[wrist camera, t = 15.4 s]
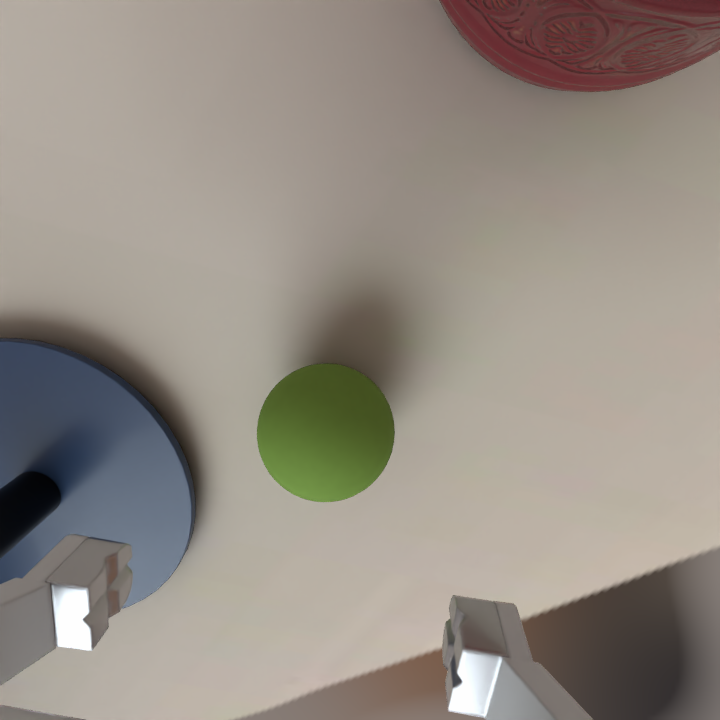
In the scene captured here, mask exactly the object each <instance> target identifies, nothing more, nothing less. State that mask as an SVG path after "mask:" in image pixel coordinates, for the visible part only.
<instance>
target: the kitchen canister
mask: <svg viewBox="0 0 720 720" xmlns="http://www.w3.org/2000/svg"><path fill="white" fill-rule="evenodd" d="M439 1H440V3H441V5H442V7H443V8H444V10H445V12H446V14H447V15H448V17H449V19H450V20H451V22H452V23H453V25H454V26H455V27H456V29H457V30H458V31H459V33H460V34H461V35H462V37H463V38H464V39H465V40H466V41H467V42H468V43H469V44H470V46H471V47H472V48H474V49H475V50H476V51H477V52H478V53H479V54H480V55H481V56H482V57H483V58H485V59H486V60H487V61H489V62H490V63H491V64H492V65H494V66H496V67H497V68H499V69H500V70H502V71H503V72H505V73H507V74H509V75H511V76H513V77H515V78H517V79H519V80H522V81H524V82H527V83H530V84H533V85H536V86H539V87H544V88H548V89H553V90H561V91H578V92H600V91H611V90H619V89H625V88H630V87H634V86H639V85H642V84H645V83H649V82H652V81H655V80H658V79H660V78H663V77H666V76H668V75H671V74H673V73H675V72H677V71H679V70H682V69H684V68H686V67H688V66H691V65H693V64H695V63H697V62H699V61H701V60H703V59H705V58H706V57H708V56H710V55H712V54H714V53H715V52H717V51H719V50H720V0H439Z"/></svg>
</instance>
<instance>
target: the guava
mask: <svg viewBox="0 0 720 720" xmlns="http://www.w3.org/2000/svg"><path fill="white" fill-rule="evenodd" d="M394 434H395V431H394V421H393V416H392V412H391V409H390V406H389V404H388V402H387V400H386V398H385V396H384V395H383V393H382V392H381V390H380V389H379V388H378V387H377V386H376V384H375V383H374V382H373V381H371V380H370V379H369V378H368V377H366V376H365V375H363V374H362V373H360V372H358V371H356V370H354V369H352V368H349V367H346V366H343V365H338V364H328V363H325V364H315V365H309V366H306V367H303V368H301V369H299V370H296V371H294V372H292V373H291V374H289V375H288V376H286V377H285V378H284V379H282V380H281V381H280V382H279V383H278V384H277V385H276V386H275V387H274V388H273V390H272V391H271V392H270V394H269V395H268V397H267V398H266V400H265V402H264V404H263V407H262V409H261V412H260V415H259V419H258V426H257V441H258V447H259V452H260V455H261V458H262V460H263V462H264V465H265V467H266V468H267V470H268V472H269V473H270V475H271V476H272V477H273V478H274V480H275V481H276V482H278V483H279V484H280V485H281V486H282V487H283V488H285V489H286V490H287V491H289V492H291V493H292V494H294V495H296V496H298V497H301V498H304V499H307V500H311V501H317V502H333V501H340V500H343V499H347V498H350V497H352V496H354V495H356V494H358V493H360V492H361V491H363V490H365V489H366V488H367V487H369V486H370V485H371V484H372V483H373V482H374V481H375V480H376V479H377V478H378V477H379V475H380V474H381V473H382V471H383V470H384V468H385V466H386V465H387V462H388V460H389V458H390V455H391V453H392V448H393V443H394Z"/></svg>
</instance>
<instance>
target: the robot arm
mask: <svg viewBox="0 0 720 720" xmlns="http://www.w3.org/2000/svg"><path fill="white" fill-rule="evenodd" d="M131 558H132V546H131V545H129V544H128V543H123V542H117V541H112V540H106V539H101V538H96V537H87V536H82V535H77V534H70V535H67V536H66V537H64V538H63V539H62V540H61V541H60V542H59V543H58V544H57V545H56V546H55V547H54V548H53V549H52V550H51V551H50V552H49V553H48V554H47V555H46V556H45V557H44V558H43V559H42V560H41V561H40V562H38V563H37V564H36V565H35V566H34V567H33V568H32V569H31V570H30V571H29V572H28V573H27V574H26V575H25V576H24V577H23V578H14V579H11V580H9V581H7V582H4V583H2V584H0V685H2V684H3V683H5V682H6V681H8V680H9V679H11V678H12V677H14V676H15V675H17V674H18V673H20V672H21V671H23V670H24V669H26V668H27V667H29V666H30V665H32V664H33V663H34V662H36V661H37V660H39V659H40V658H42V657H43V656H45V655H46V654H48V653H49V652H51V651H52V650H54V649H55V648H56V646H59V647H66V648H74V649H81V650H88V651H92V650H93V649H94V647H95V646H96V644H97V643H98V642H99V640H100V639H101V637H102V636H103V634H104V633H105V632H106V630H107V629H108V627H109V623H108V618H109V617H111V616H113V615H115V614H117V613H118V612H120V610H121V609H122V607H123V606H124V604H125V603H126V601H127V598H128V596H129V593H130V591H131V587H132V581H133V571H132V570H131V569H130V567H129V566H128V565H127V563H128V562H129V561H130V559H131ZM449 612H450V619H449V620H448V621H446V623H445V628H444V634H443V645H442V648H443V665H444V667H445V668H446V669H447V671H448V673H447V677H446V682H445V686H446V695H447V705H448V711H451V712H456V713H461V714H466V715H471V716H477V717H481V718H486V719H485V720H593V719H592V718H591V717H590V716H589V715H588V714H587V712H585V710H584V709H583V708H582V707H581V706H580V705H579V704H578V703H577V702H576V701H575V700H574V699H573V698H572V697H571V696H570V695H569V694H568V693H567V692H566V690H565V689H564V688H563V687H562V686H561V685H560V684H559V683H558V682H557V681H556V680H555V679H554V678H553V677H552V676H551V675H550V673H549V672H548V671H547V670H546V669H545V668H544V667H543V666H542V665H541V664H540V663H536V662H533V659H532V656H531V652H530V649H529V646H528V643H527V639H526V636H525V633H524V630H523V627H522V623H521V620H520V616H519V613H518V610H517V607H516V606H515V604H512V603H505V602H498V601H489V600H482V599H476V598H469V597H462V596H456V595H453V596H452V598H451V601H450V606H449ZM0 720H85V719H79V718H73V717H67V716H62V715H56V714H50V713H44V712H39V711H33V710H27V709H21V708H16V707H10V706H4V705H0Z"/></svg>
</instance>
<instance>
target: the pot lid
mask: <svg viewBox="0 0 720 720" xmlns="http://www.w3.org/2000/svg"><path fill="white" fill-rule="evenodd" d="M194 522H195V493H194V486H193V480H192V477H191V473H190V470H189V467H188V463H187V461H186V458H185V456H184V454H183V452H182V449H181V447H180V445H179V443H178V441H177V440H176V438H175V436H174V435H173V433H172V431H171V430H170V428H169V426H168V425H167V424H166V422H165V421H164V420H163V418H162V417H161V416H160V414H159V413H158V412H157V411H156V409H155V408H154V407H153V406H152V405H151V404H150V403H149V402H148V401H147V400H146V399H145V398H144V397H143V396H142V395H141V394H140V393H139V392H138V391H137V390H136V389H134V388H133V387H132V386H131V385H130V384H128V383H127V382H126V381H125V380H124V379H122V378H121V377H120V376H118V375H116V374H115V373H113V372H112V371H110V370H109V369H107V368H106V367H104V366H103V365H101V364H99V363H97V362H95V361H93V360H91V359H89V358H87V357H85V356H83V355H81V354H79V353H76V352H73V351H71V350H68V349H66V348H63V347H60V346H56V345H52V344H48V343H44V342H40V341H34V340H26V339H18V338H0V584H2V583H4V582H7V581H9V580H11V579H14V578H23V577H24V576H25V575H26V574H27V573H28V572H29V571H30V570H31V569H32V568H33V567H34V566H35V565H36V564H37V563H38V562H40V561H41V560H42V559H43V558H44V557H45V556H46V555H47V554H48V553H49V552H50V551H51V550H52V549H53V548H54V547H55V546H56V545H57V544H58V543H59V542H60V541H61V540H62V539H63V538H64V537H66V536H67V535H70V534H77V535H82V536H87V537H96V538H101V539H106V540H112V541H117V542H123V543H128V544H129V545H131V546H132V558H131V559H130V561H129V562H128V563H127V565H128V566H129V567H130V569H131V570H132V571H133V581H132V587H131V591H130V593H129V596H128V598H127V601H126V603H125V604H124V606H123V607H122V608H126V607H129V606H131V605H133V604H135V603H137V602H139V601H141V600H143V599H145V598H146V597H148V596H149V595H150V594H152V593H153V592H155V591H156V590H157V589H159V588H160V587H161V586H162V585H163V584H164V583H165V582H166V581H167V580H168V579H169V578H170V576H171V575H172V574H173V572H174V571H175V570H176V568H177V567H178V565H179V564H180V562H181V560H182V558H183V556H184V554H185V552H186V551H187V549H188V546H189V543H190V540H191V537H192V534H193V528H194Z"/></svg>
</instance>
